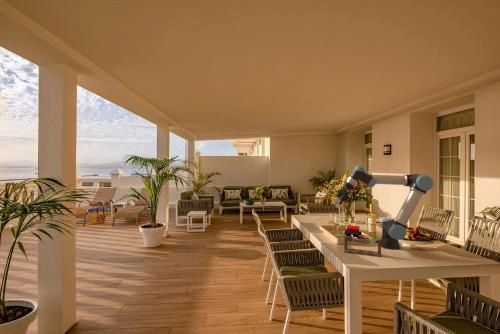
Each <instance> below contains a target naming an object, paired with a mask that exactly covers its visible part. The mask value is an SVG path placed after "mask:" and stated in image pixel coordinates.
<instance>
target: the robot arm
mask: <svg viewBox="0 0 500 334" xmlns="http://www.w3.org/2000/svg"><path fill="white" fill-rule="evenodd" d="M365 171H366V168H364V167H362V166H361V165H355V168H353V170H352V172H351V173H350V175H349V176H348V177H347V178H346V181H345V182H344V183H343V186H342V188H341V189H340V190H339V191H338V192H337V194H336V196H335V198H333V200H332V201H331V204H333V205H334V206H335V208H337V209H339V208H340V207H341V205H342V204H343V202H344V201H346V199H347V197H348V196H349V193H350V191H352V190H353V189H354V188H355V186H356V185H357V183H358V182H360V183H361V184H363V185H366V186H368V187H370V188H373V187H375V186H376V185H392V186H393V185H394V186H395V185H396V186H404V187H409V190H410V191H409V192H408V195H407V196H406V198H405V200H404V202H403V203H402V205H401V207H400V209H399V211H398V213H397V215H396V217H394V218H383V219H382V221H381V225H382V226H381V227H382V229H381V231H382V232H381V238H380V240H381V248H384V249H388V250H399V249H400V248H401V245H400V241H401V240H403V239H405V237H406V236H407V229H408V227H409V225H408V222H409V220H410V219H411V217H412V215H413V213H414V212H415V210H416V208H417V207H418V205H419V202H420V201H421V198H422V197H423V196H425V195H427V192H428V191H430V190H431V189H432V188H433V187H434V180H433V178H432V177H431V176H429V175H427V174H421V173H413V174H405V173H404V174H403V175H399V174H398V175H397V174H396V175H395V174H394V175H392V174H390V175H389V174H368V173H366V172H365ZM399 240H400V241H399Z"/></svg>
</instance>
